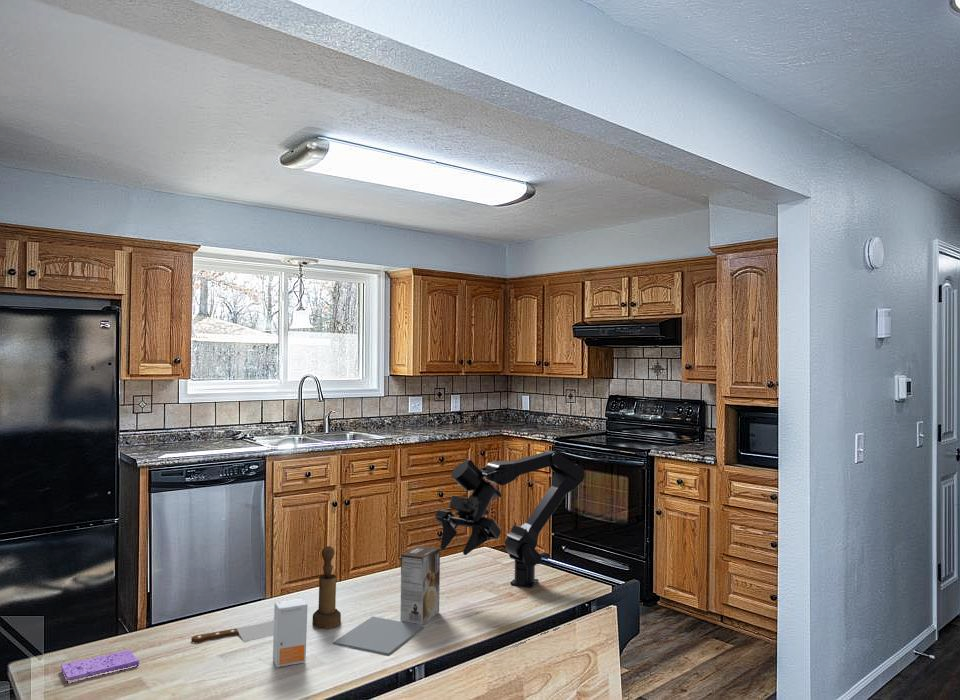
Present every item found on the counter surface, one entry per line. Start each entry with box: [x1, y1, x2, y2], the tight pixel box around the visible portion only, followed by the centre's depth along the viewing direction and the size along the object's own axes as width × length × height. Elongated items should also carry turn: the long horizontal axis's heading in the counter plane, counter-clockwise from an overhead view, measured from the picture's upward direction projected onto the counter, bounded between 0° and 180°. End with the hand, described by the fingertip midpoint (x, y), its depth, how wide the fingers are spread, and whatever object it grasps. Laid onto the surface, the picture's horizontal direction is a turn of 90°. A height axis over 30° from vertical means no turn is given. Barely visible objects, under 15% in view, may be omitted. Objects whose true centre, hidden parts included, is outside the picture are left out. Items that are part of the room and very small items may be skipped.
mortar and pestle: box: [311, 545, 342, 630], centre depth 160 cm, size 7×6×18 cm
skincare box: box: [272, 598, 308, 668], centre depth 139 cm, size 6×4×12 cm
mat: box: [332, 616, 425, 656], centre depth 153 cm, size 16×14×1 cm
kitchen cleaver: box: [190, 619, 274, 644], centre depth 153 cm, size 24×1×10 cm
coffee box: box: [399, 545, 441, 626], centre depth 165 cm, size 9×6×16 cm
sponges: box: [61, 649, 140, 680], centre depth 135 cm, size 7×13×2 cm, turn 130°
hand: (452, 551), depth 175 cm, fingers open, 7 cm apart
